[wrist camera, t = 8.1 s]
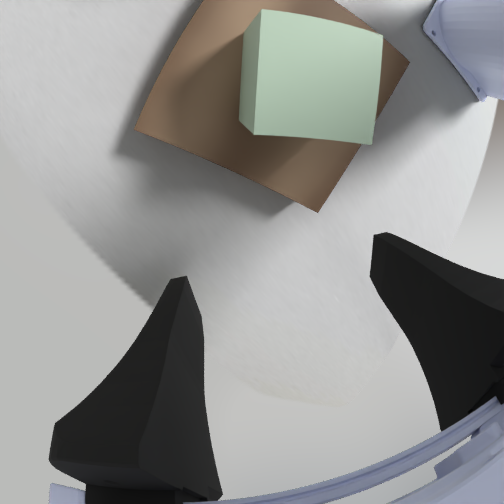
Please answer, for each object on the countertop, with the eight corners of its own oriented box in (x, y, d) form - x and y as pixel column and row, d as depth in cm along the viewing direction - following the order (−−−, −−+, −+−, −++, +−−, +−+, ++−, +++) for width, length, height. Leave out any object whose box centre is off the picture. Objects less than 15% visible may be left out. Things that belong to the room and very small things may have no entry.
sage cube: (334, 45, 12) (383, 35, 8) (326, 126, 15) (371, 145, 11) (243, 32, 12) (261, 9, 8) (238, 120, 14) (253, 134, 10)
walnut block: (381, 62, 16) (410, 62, 13) (301, 193, 21) (317, 212, 18) (234, -28, 12) (241, -48, 9) (146, 121, 17) (133, 129, 14)
